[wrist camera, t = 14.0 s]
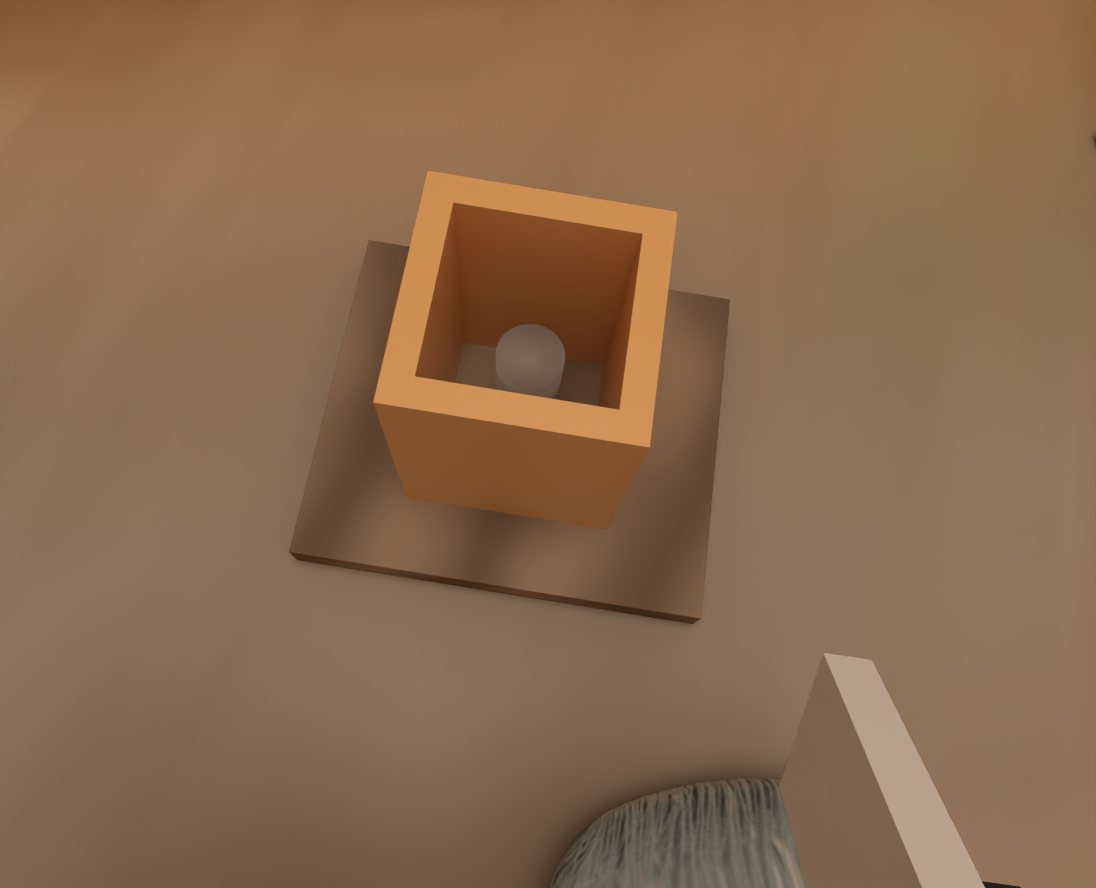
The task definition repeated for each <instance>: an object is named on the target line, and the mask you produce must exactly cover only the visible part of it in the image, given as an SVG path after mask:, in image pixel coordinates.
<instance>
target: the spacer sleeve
mask: <svg viewBox="0 0 1096 888" xmlns="http://www.w3.org/2000/svg"><path fill="white" fill-rule="evenodd" d="M676 220H677V212H674V211H668V210H662V209H656V208H650V207H644V206H638V205H632V204H626V203H620V202H614V201H608V200H601V199H595V198H589V197H583V196H577V195H571V194H565V193H559V192H553V191H547V190H541V189H535V188H529V187H523V186H517V185H511V184H505V183H499V182H493V181H486V180H480V179H474V178H468V177H462V176H456V175H450V174H444V173H438V172H432V171H428V172H427V177H426V181H425V185H424V189H423V194H422V198H421V202H420V206H419V211H418V215H417V219H416V223H415V227H414V232H413V236H412V240H411V244H410V249H409V253H408V257H407V261H406V266H405V270H404V274H403V278H402V282H401V287H400V291H399V295H398V299H397V304H396V308H395V312H394V316H393V321H392V325H391V329H390V333H389V337H388V342H387V346H386V350H385V354H384V359H383V363H382V367H381V371H380V375H379V380H378V384H377V388H376V392H375V397H374V401H373V403H374V406H375V409H376V412H377V415H378V418H379V421H380V424H381V426H382V429H383V432H384V435H385V438H386V441H387V444H388V447H389V449H390V452H391V455H392V458H393V461H394V464H395V467H396V470H397V472H398V475H399V478H400V481H401V484H402V487H403V490H404V493H405V495H406V497H409V498H415V499H421V500H427V501H434V502H440V503H446V504H452V505H458V506H464V507H471V508H477V509H483V510H489V511H495V512H501V513H508V514H514V515H520V516H526V517H532V518H538V519H545V520H551V521H557V522H563V523H569V524H575V525H582V526H588V527H594V528H600V529H607V527H608V525H609V523H610V521H611V519H612V518H613V516H614V514H615V512H616V510H617V508H618V506H619V504H620V503H621V501H622V499H623V497H624V495H625V493H626V491H627V489H628V487H629V486H630V484H631V482H632V480H633V478H634V476H635V474H636V472H637V471H638V469H639V467H640V465H641V463H642V461H643V459H644V457H645V455H646V454H647V452H648V450H649V448H650V441H651V432H652V424H653V415H654V407H655V398H656V390H657V381H658V373H659V364H660V356H661V347H662V339H663V330H664V322H665V313H666V305H667V296H668V288H669V279H670V271H671V262H672V254H673V245H674V237H675V228H676ZM523 324H536V325H540V326H543V327H546V328H548V329H549V330H551V331H552V332H554V333H555V334H556V335H557V336H558V338H559V339H560V340H561V342H562V344H563V347H564V350H565V360H571V361H578V362H584V363H590V364H596V365H602V366H604V368H603V375H602V382H601V389H600V396H599V403H598V406H593V405H587V404H581V403H575V402H569V401H563V400H557V399H550V398H544V397H538V396H532V395H526V394H520V393H514V392H508V391H502V390H495V389H489V388H483V387H477V386H471V385H465V384H459V383H455V381H456V376H457V371H458V366H459V362H460V357H461V352H462V347H463V343H468V344H474V345H480V346H486V347H492V348H497V345H498V343H499V341H500V339H501V338H502V336H503V335H504V334H505V333H506V332H507V331H509V330H510V329H512V328H514V327H516V326H519V325H523Z"/></svg>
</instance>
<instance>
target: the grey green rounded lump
mask: <svg viewBox="0 0 1096 888" xmlns="http://www.w3.org/2000/svg"><path fill="white" fill-rule="evenodd" d="M781 779H782V778H736V779H726V780H718V781H709V782H700V783H695V784H690V785H685V786H680V787H676V788H671V789H668V790H664V791H660V792H657V793H653V794H649V795H645V796H642V797H640V798H638V799H636V800H633V801H630V802H627V803H625V804H622V805H620V806H618V807H615V808H613V809H611V810H609V811H607V812H605V813H604V814H603V815H602V816H601V817H599V818H598V819H597V820H596V821H595V822H593V823H592V824H591V825H590V826H589V827H588V828H586V829H585V830H584V831H583V832H582V833H580V834H579V835H578V836H577V837H576V839H575V840H574V841H573V842H572V843H571V845H570V846H569V848H568V849H567V850H566V852H565V854H564V856H563V858H562V859H561V861H560V863H559V865H558V867H557V869H556V871H555V873H554V876H553V878H552V880H551V882H550V886H549V888H807V886H806V882H805V879H804V875H803V872H802V868H801V864H800V861H799V857H798V853H797V850H796V846H795V843H794V839H793V835H792V832H791V828H790V825H789V821H788V817H787V814H786V810H785V806H784V803H783V799H782V796H781V792H780V788H779V785H780V782H781Z"/></svg>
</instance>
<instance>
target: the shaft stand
mask: <svg viewBox="0 0 1096 888" xmlns="http://www.w3.org/2000/svg"><path fill="white" fill-rule="evenodd" d="M409 249H410V247H407V246H401V245H395V244H389V243H383V242H377V241H371V240H369V242H368V246H367V250H366V254H365V258H364V262H363V266H362V270H361V273H360V277H359V281H358V285H357V289H356V293H355V297H354V301H353V305H352V309H351V313H350V316H349V320H348V324H347V328H346V332H345V336H344V340H343V344H342V348H341V352H340V355H339V359H338V363H337V367H336V371H335V375H334V379H333V383H332V387H331V391H330V395H329V398H328V402H327V406H326V410H325V414H324V418H323V422H322V426H321V430H320V434H319V437H318V441H317V445H316V449H315V453H314V457H313V461H312V465H311V469H310V473H309V477H308V480H307V484H306V488H305V492H304V496H303V500H302V504H301V508H300V512H299V516H298V519H297V523H296V527H295V531H294V535H293V539H292V543H291V547H290V551H289V552H290V553H291V554H292V555H293V556H294V557H295V558H296V559H297V560H302V561H308V562H314V563H321V564H327V565H333V566H339V567H345V568H352V569H358V570H364V571H370V572H376V573H382V574H389V575H395V576H401V577H407V578H413V579H420V580H426V581H432V582H438V583H444V584H451V585H457V586H463V587H469V588H475V589H481V590H488V591H494V592H500V593H506V594H512V595H519V596H525V597H531V598H537V599H543V600H549V601H556V602H562V603H568V604H574V605H580V606H587V607H593V608H599V609H605V610H611V611H617V612H624V613H630V614H636V615H642V616H648V617H655V618H661V619H667V620H673V621H679V622H685V623H692V624H693V623H694V622H696V621H698V620H699V619H701V613H702V602H703V591H704V580H705V569H706V558H707V547H708V536H709V525H710V514H711V503H712V491H713V480H714V469H715V458H716V447H717V436H718V425H719V414H720V403H721V392H722V381H723V370H724V359H725V348H726V336H727V325H728V314H729V303H730V300H729V299H723V298H717V297H710V296H704V295H698V294H692V293H686V292H680V291H674V290H668V296H667V305H666V313H665V322H664V330H663V339H662V347H661V356H660V364H659V373H658V381H657V390H656V398H655V407H654V415H653V424H652V432H651V441H650V448H649V450H648V452H647V454H646V455H645V457H644V459H643V461H642V463H641V465H640V467H639V469H638V471H637V472H636V474H635V476H634V478H633V480H632V482H631V484H630V486H629V487H628V489H627V491H626V493H625V495H624V497H623V499H622V501H621V503H620V504H619V506H618V508H617V510H616V512H615V514H614V516H613V518H612V519H611V521H610V523H609V525H608V527H607V529H600V528H594V527H588V526H582V525H575V524H569V523H563V522H557V521H551V520H545V519H538V518H532V517H526V516H520V515H514V514H508V513H501V512H495V511H489V510H483V509H477V508H471V507H464V506H458V505H452V504H446V503H440V502H434V501H427V500H421V499H415V498H409V497H406V495H405V493H404V490H403V487H402V484H401V481H400V478H399V475H398V472H397V470H396V467H395V464H394V461H393V458H392V455H391V452H390V449H389V447H388V444H387V441H386V438H385V435H384V432H383V429H382V426H381V424H380V421H379V418H378V415H377V412H376V409H375V406H374V403H373V401H374V397H375V392H376V388H377V384H378V380H379V375H380V371H381V367H382V363H383V359H384V354H385V350H386V346H387V342H388V337H389V333H390V329H391V325H392V321H393V316H394V312H395V308H396V304H397V299H398V295H399V291H400V287H401V282H402V278H403V274H404V270H405V266H406V261H407V257H408V253H409ZM603 368H604V366H602V365H596V364H590V363H584V362H578V361H571V360H565V350H564V347H563V344H562V342H561V340H560V339H559V338H558V336H557V335H556V334H555V333H554V332H552V331H551V330H549V329H548V328H546V327H543V326H540V325H536V324H523V325H519V326H516V327H514V328H512V329H510V330H509V331H507V332H506V333H505V334H504V335H503V336H502V338H501V339H500V341H499V343H498V345H497V348H492V347H486V346H480V345H474V344H468V343H463V347H462V352H461V357H460V362H459V366H458V371H457V376H456V381H455V383H459V384H465V385H471V386H477V387H483V388H489V389H495V390H502V391H508V392H514V393H520V394H526V395H532V396H538V397H544V398H550V399H557V400H563V401H569V402H575V403H581V404H587V405H593V406H598V403H599V396H600V389H601V382H602V375H603Z"/></svg>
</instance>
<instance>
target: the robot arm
mask: <svg viewBox="0 0 1096 888" xmlns="http://www.w3.org/2000/svg"><path fill="white" fill-rule="evenodd" d="M779 788H780V792H781V796H782V799H783V803H784V806H785V810H786V814H787V817H788V821H789V825H790V828H791V832H792V835H793V839H794V843H795V846H796V850H797V853H798V857H799V861H800V864H801V868H802V872H803V875H804V879H805V882H806V886H807V888H1021V887H1018V886H1011V885H1004V884H997V883H990V882H984V881H981V879H980V877H979V875H978V873H977V871H976V869H975V867H974V865H973V863H972V861H971V859H970V857H969V855H968V853H967V851H966V849H965V847H964V845H963V843H962V841H961V839H960V837H959V835H958V833H957V831H956V829H955V827H954V824H953V822H952V820H951V818H950V816H949V814H948V812H947V810H946V808H945V806H944V804H943V802H942V800H941V798H940V796H939V794H938V792H937V790H936V788H935V786H934V784H933V782H932V780H931V778H930V776H929V774H928V772H927V770H926V768H925V766H924V764H923V762H922V760H921V758H920V756H919V754H918V752H917V750H916V748H915V746H914V744H913V742H912V740H911V738H910V736H909V734H908V732H907V730H906V728H905V726H904V724H903V722H902V720H901V718H900V716H899V714H898V712H897V710H896V708H895V706H894V704H893V702H892V700H891V698H890V696H889V694H888V692H887V690H886V688H885V686H884V684H883V682H882V680H881V678H880V676H879V674H878V672H877V670H876V668H875V666H874V664H873V662H872V660H867V659H861V658H854V657H848V656H841V655H834V654H828V653H823V656H822V659H821V662H820V665H819V668H818V671H817V674H816V677H815V680H814V683H813V686H812V689H811V692H810V695H809V698H808V701H807V704H806V707H805V710H804V713H803V716H802V719H801V722H800V725H799V728H798V731H797V734H796V737H795V740H794V743H793V746H792V749H791V752H790V755H789V758H788V761H787V764H786V767H785V770H784V773H783V776H782V779H781V782H780V785H779Z"/></svg>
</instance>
